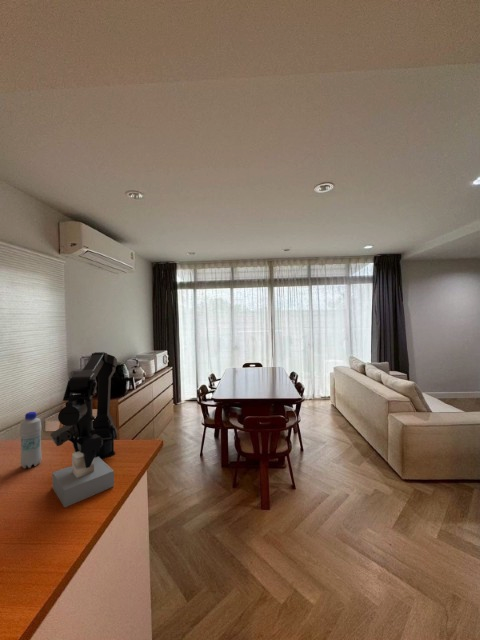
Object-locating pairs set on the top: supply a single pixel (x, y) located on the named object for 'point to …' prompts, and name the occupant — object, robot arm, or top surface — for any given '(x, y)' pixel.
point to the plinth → (82, 483)
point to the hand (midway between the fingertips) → (83, 462)
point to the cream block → (80, 465)
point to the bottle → (30, 440)
